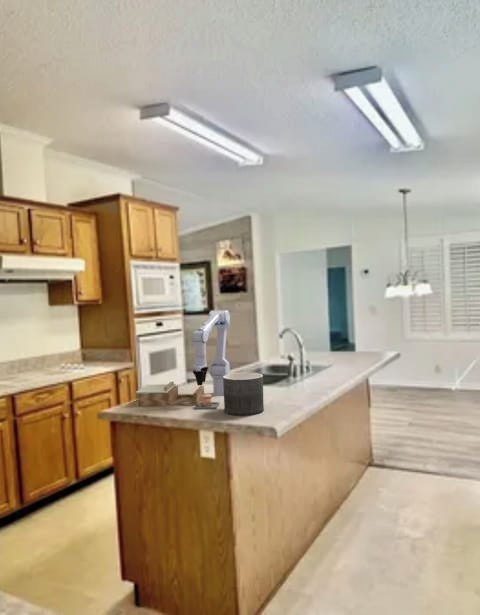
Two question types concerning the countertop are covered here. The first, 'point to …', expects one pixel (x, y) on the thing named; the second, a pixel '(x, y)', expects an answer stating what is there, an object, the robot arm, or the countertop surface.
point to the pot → (206, 400)
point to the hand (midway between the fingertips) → (201, 383)
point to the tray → (214, 406)
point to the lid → (157, 388)
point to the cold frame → (170, 398)
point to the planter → (243, 393)
